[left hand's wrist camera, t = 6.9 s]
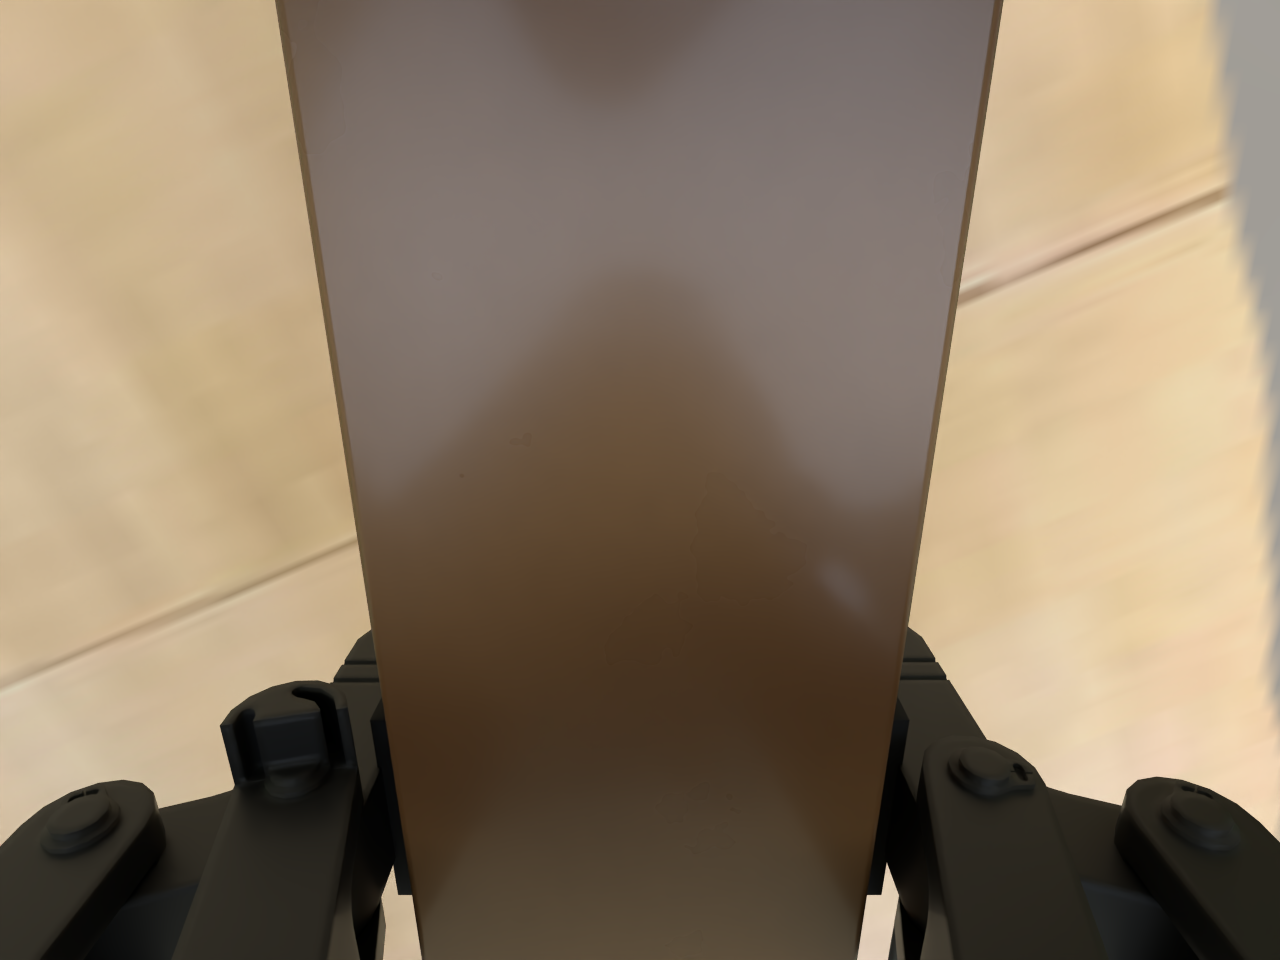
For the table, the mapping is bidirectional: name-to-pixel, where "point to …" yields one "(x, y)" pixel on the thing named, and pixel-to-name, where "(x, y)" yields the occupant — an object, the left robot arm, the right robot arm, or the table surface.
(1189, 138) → the table surface
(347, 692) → the left robot arm
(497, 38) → the bar
